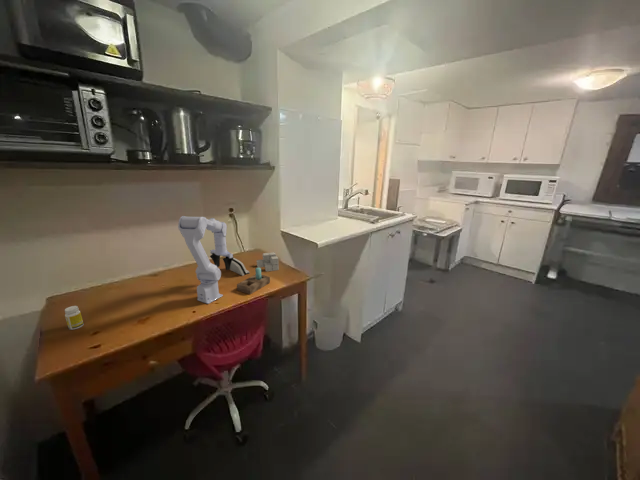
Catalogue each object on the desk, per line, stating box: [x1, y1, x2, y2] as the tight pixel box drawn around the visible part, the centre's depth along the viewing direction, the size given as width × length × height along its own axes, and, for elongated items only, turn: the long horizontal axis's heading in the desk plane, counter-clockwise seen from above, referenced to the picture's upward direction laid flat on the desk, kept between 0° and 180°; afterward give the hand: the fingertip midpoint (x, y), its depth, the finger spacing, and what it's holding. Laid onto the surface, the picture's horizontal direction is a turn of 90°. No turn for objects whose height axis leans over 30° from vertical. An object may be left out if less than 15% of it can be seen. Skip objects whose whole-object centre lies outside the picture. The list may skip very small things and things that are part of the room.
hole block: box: [236, 273, 271, 295], centre depth 149 cm, size 16×9×4 cm, turn 152°
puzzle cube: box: [256, 251, 280, 272], centre depth 175 cm, size 12×12×8 cm
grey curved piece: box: [228, 257, 250, 276], centre depth 168 cm, size 17×5×10 cm, turn 49°
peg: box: [255, 267, 262, 280], centre depth 152 cm, size 3×3×9 cm
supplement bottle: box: [64, 305, 84, 331], centre depth 112 cm, size 5×5×8 cm
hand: (222, 268), depth 149 cm, fingers open, 7 cm apart
